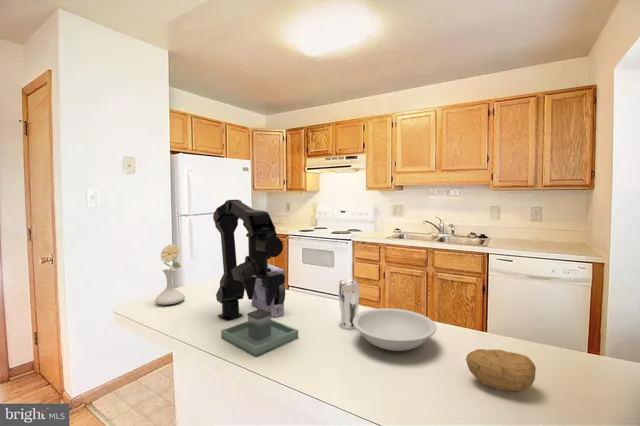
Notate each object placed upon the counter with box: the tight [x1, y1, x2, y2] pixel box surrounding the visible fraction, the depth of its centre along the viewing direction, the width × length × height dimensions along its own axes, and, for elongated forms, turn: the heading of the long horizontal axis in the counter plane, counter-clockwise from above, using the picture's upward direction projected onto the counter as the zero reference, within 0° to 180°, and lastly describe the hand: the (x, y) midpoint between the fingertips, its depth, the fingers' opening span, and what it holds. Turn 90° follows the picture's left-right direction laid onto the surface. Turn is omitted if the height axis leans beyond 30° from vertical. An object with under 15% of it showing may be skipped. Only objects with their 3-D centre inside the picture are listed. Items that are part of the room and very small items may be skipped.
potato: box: [465, 348, 537, 392], centre depth 74 cm, size 10×14×8 cm
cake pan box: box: [251, 263, 286, 319], centre depth 124 cm, size 19×5×18 cm, turn 38°
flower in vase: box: [154, 243, 186, 306], centre depth 134 cm, size 13×11×25 cm
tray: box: [220, 318, 299, 358], centre depth 100 cm, size 18×16×2 cm
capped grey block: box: [246, 309, 272, 341], centre depth 100 cm, size 5×5×7 cm
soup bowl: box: [353, 307, 437, 352], centre depth 95 cm, size 24×24×7 cm
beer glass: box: [338, 279, 360, 330], centre depth 109 cm, size 7×7×15 cm
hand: (259, 302), depth 100 cm, fingers open, 9 cm apart
